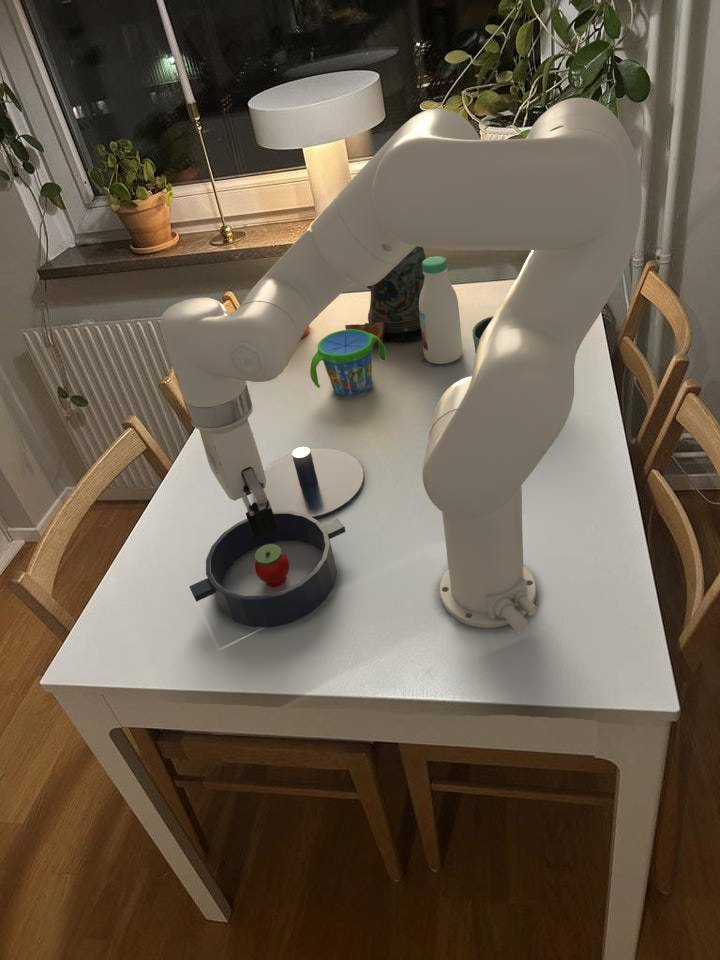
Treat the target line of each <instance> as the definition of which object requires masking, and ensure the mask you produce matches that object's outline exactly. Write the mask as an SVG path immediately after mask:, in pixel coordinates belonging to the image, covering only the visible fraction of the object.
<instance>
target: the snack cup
mask: <svg viewBox="0 0 720 960" xmlns="http://www.w3.org/2000/svg"><path fill="white" fill-rule="evenodd" d="M374 339H377V341H378V342H379V343H378V358H379V359H380V360H381V361H382V362H386V360H387V349H386V347H385V345H384V341H383V340H380V339H379V338H378V337H377V336H375V335H373V334H371V333H367V332H365V331H362V330H355V329H351V330H346V329H343V330H338V331H335V332H332V333H329V334H327V335H326V336H323V338H321V340H319V342H318V343H317V351H316V353H315V354H314V355H313V357H312V359H311V362H310V367H309V375H310V379H311V381H312V383H313V385H314V386H316V388H318V389H320V388H321V385H320V383H319V378H318V372H317V371H318V370H317V367H318V365H319V364H320V363H321V361H322V362H323V365H324V367H325V370H326V373H327V375H328V378H329V380H330V384H331V387H332V388H333V391H334V393H336V394H337V395H340V396H343V397H354V396H358V395H361V394H363V393H365V392H366V391H368V390H370V388H371V386H372V381H373V364H372V363H373V362H372V359H373V357H372V352H373V348H374V346H373V340H374Z"/></svg>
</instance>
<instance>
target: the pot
mask: <svg viewBox="0 0 720 960" xmlns="http://www.w3.org/2000/svg"><path fill="white" fill-rule="evenodd" d="M272 512H273V516H274V519H275V523H276V526H277V527H276V529H275V530H273V531H271V532H268V533H266V534H264V535H262V536H259V537H257V538H254V537H253V535H252V532H251V529H250V526H249V523H248V520H247V518H246V519H243V520H241V521H239V522H238V521H237V523H235V524H234V525H232V526H231V527H229V528H228V529H227V530H225V531H224V532H223V533H221V535H220V536H219V537H218V538H217V539H216V541H215V542H213V544H212V545H211V547H210V549H209V551H208V554H207V556H206V559H205V575H206V578H205V579H203V580H200V581H198V582H196V583H193V584H191V585H189V590H190V592H191V593H192V597H193V599H194V600H195V602H197V603H198V602H199V601H201V600H203V599H205V598H207V597H210V596H213V595H214V597H215V600H216V602H217V604H218V606H219V608H220V610H221V612H222V613H223V614H224V615H226V617H228V618H229V619H230V620H231V621H233V622H235V623H238V624H241V625H244V626H247V627H251V628H262V629H263V628H264V629H265V628H275V627H279V626H284V625H287V624H291V623H294V622H296V621H298V620H301V619H302V618H305V617H306V616H308V615H310V614H311V613H312V612H314V611H315V610H316V609H318V608H319V607H320V606H321V605H322V604H323V603H324V602H325V601H326V599H327V598H328V597H329V595H330V593H331V592H332V590H333V588H334V587H335V583H336V579H337V575H338V571H337V565H336V561H335V557H334V553H333V548H332V544H331V539H334V538H336V537H337V536H340V535H342V534H344V533H346V531H347V530H346V527H345V526H344V524H343V523H342V521H340V519H339V518H338V517H337V518H334V519H332V520H330V521H327V522H325V523H324V524H322V523H321V522H320V521H319V519H314V518H312V517H311V516H309V515H307V514H304V513H299V512H295V511H272ZM285 541H286V542H294V541H297V542H300V543H305V544H309V545H311V546H313V547H314V548H317V549H318V550H319V551H322V556H321V559H320V560H319V562H318V563H317V565H316V566H315V567H314V569H313V570H312V571H311V572H310V573H309V574H308V575H307V576H305V577H304V578H303V579H301V581H299V582H298V583H295V584H293V585H291V586H289V587H286V588H285V589H283V590H281V591H277V592H272V593H268V594H264V595H244V594H243V595H242V594H239V593H235V592H232V591H228V590H227V589H225V587H223V586H222V585H223V583H224V580H225V578H226V575H227V573H228V572H229V571H230V570H231V568H232V567H233V566H234V564H235V563H236V562H237V561H238V560H239V559H242V558H243V557H244V556H245V555H246V554H248V553H249V552H252V551H254V550H257V549H259V548H260V547H262V546H264V545H268V544H274V543H277V542H285Z"/></svg>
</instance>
